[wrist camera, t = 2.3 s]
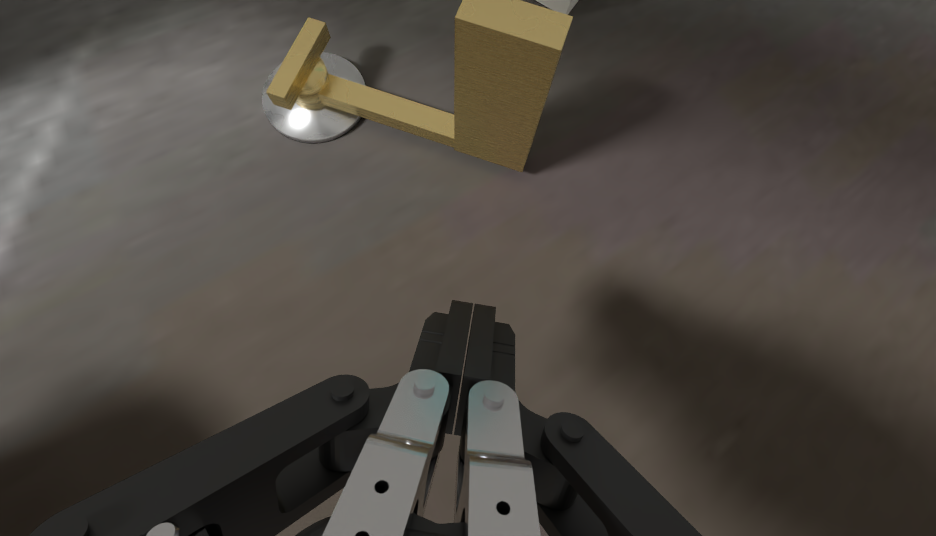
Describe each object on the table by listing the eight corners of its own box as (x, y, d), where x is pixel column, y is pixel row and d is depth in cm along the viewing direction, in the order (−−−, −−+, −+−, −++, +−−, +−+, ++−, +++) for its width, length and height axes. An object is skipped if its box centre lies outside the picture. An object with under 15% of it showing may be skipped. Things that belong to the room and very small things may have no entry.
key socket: (243, 108, 25) (240, 104, 25) (309, 40, 27) (307, 35, 26) (323, 161, 25) (321, 158, 24) (387, 88, 26) (386, 84, 26)
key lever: (274, 120, 25) (174, -30, 16) (312, 52, 26) (239, -123, 17) (512, 200, 24) (547, 88, 15) (538, 125, 25) (585, -18, 16)
